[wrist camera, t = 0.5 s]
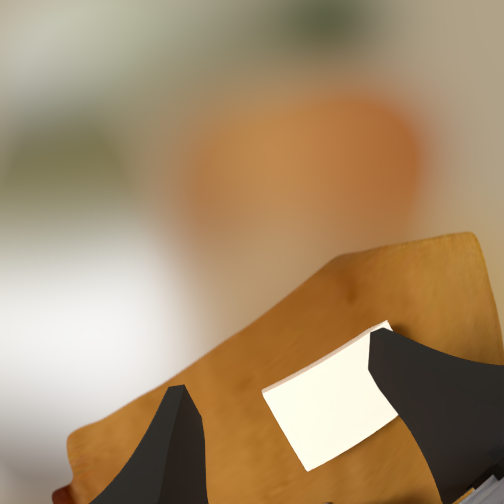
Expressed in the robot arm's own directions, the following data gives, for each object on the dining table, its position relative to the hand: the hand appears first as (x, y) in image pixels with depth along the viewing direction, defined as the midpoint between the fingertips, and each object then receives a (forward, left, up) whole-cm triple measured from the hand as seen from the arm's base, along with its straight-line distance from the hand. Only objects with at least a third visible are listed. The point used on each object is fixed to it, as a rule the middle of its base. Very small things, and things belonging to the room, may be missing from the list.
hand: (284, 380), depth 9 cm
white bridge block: (-8, -7, -29) cm, 31 cm away
